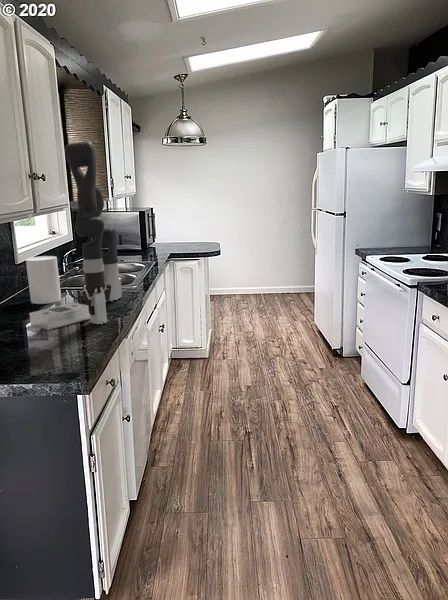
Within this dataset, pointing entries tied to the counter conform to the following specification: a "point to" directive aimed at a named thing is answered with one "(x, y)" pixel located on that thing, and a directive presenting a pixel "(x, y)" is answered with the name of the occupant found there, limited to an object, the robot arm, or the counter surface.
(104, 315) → the skincare box
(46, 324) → the block
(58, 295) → the canister
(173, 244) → the counter surface
